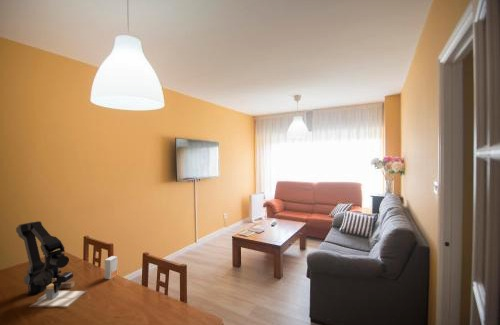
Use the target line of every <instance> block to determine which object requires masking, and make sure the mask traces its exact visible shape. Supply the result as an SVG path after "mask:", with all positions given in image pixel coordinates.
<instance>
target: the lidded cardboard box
mask: <svg viewBox="0 0 500 325" xmlns="http://www.w3.org/2000/svg"><path fill="white" fill-rule="evenodd" d="M52 283H53V282H52ZM52 283H51V284H50V285H48V286H46V289H45V294H46V299H53V298H55V297H56V296H58V295H59V290H60V289H59V290H58V292H57V293H55V291H54V284H52Z"/></svg>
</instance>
